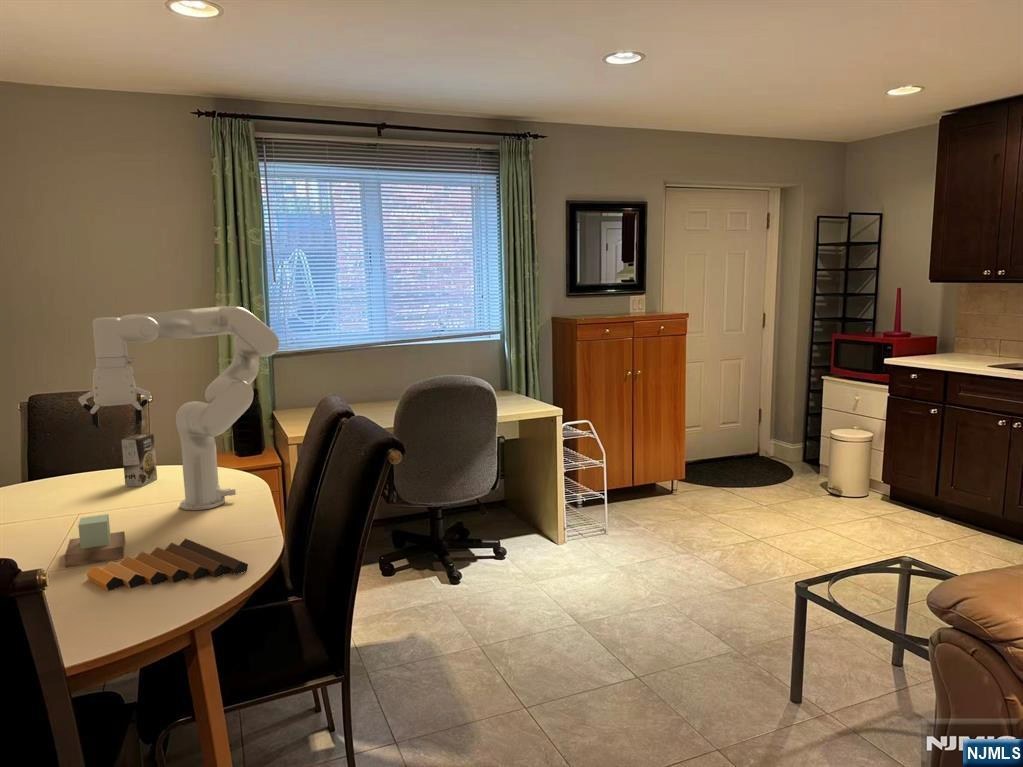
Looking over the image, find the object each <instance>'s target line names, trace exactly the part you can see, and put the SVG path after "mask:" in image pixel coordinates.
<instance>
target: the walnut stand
mask: <svg viewBox="0 0 1023 767" xmlns="http://www.w3.org/2000/svg"><path fill="white" fill-rule="evenodd" d="M110 535H111V538H110V543H109V545H103V546H97V547H90V548H84V549H81V546H80V537H78V538H71V539H69V541H68V544H67V547H66V551H65V553H64V560H65V562H64V563H65V568H71V567H78V566H84V565H88V564H96V563H101V562H102V563H103V562H107V561H108V562H110V561H115V560H121V559H124V558H125V549H126V535H125V531H117V532H110ZM120 558H121V559H120Z"/></svg>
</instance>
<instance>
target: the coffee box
mask: <svg viewBox="0 0 1023 767" xmlns="http://www.w3.org/2000/svg"><path fill="white" fill-rule="evenodd" d="M154 435H155V434H154V433H144V434H143V433H142V434H139V433H138V434H133V435H131V436H128V437H124V438H123V439H121V451H122V464H123V474H124V487H141V488H142V487H145V486H146V485H148V484H151V483H152V482H155V481H156V480H158V473H157V472H158V471H157V462H156V461H157V460H156V459H157V458H156V449H155V448H156V446H155V436H154Z"/></svg>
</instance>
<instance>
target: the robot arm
mask: <svg viewBox="0 0 1023 767" xmlns="http://www.w3.org/2000/svg"><path fill="white" fill-rule="evenodd" d="M92 333H93V334H92V335H93V342H94V344H93V345H94V355H95V364H96V368H94V369H93V372H92V373H93V374H92V377H93V378H92V390H91V391H89V392H87V393H84V394H83V395H81V396H79V397H78V398H77V401H78V402H79V404H80V405H81V406H82V408H83V409H85V411H87V412H89V413H90V414H91V418H92V419H91V420H92V422H91V423H92V425H93V426H94V425H95V429H99V428H100V426H101V425H100V416H99V414H100V413H99V412H98V410H99V409H100V407H109V406H110V407H111V406H121V405H123V406H124V405H132V406H133V407H134V408H135V410H134V412H135V424H136V425H137V426H138V425H140V422H142V421H143V416H142V414H143V413H142V410H143V408H144V407H145V406H146V405H147V404H148V402H149V401H150V399H151V397H152V393H151V392H150V391H148V390H145V389H142V388H139V387H137V386H136V379H135V375H134V370H133V367H132V366H129V365H130V364H132V363H133V364H134V363H135V359H134V358H135V357H129V355H128V344H127V343H136V344H137V343H138V344H147V343H151V342H153V341H154V340H155V339H179V340H180V339H196V338H204V337H212V336H220V335H221V336H222V335H235V336H234V339H233V348H234V355H233V356H234V357H233V360H232V362H230V364H229V365H228V367H226V368H225V370H223V371H222V372H221V373H220V374H219V375H218V376H216V378H215V379H214V380H212V382H210V384H209V385H208V386H207V388H206V389H205V392H204V397H205V400H206V402H203V401H198V400H197V401H195V400H193V401H188V402H186V403H183V404H182V405H181V406H180V407H179V408H178V409H177V412H176V415H175V423H176V428H177V431H178V435H179V440H180V449H181V461H182V475H183V476H182V477H183V485H184V486H183V487H184V499H183V500H182V501H180V502H179V508H181V509H182V510H185V511H204V510H209V509H213V508H218V507H220V506H222V505H223V504H225V502H226V497H228V496H236V495H237V494H236V493H237V492H236V488H232V489H231V488H230V487H229V488H228V487H227V488H224V489H223V488H221V486H220V485H219V483H220V482H219V473H218V472H219V471H218V470H219V469H218V460H217V458H218V457H217V446H216V439H215V437H218V436H220V435H222V434H224V433H225V432H226V431H227V430H229V429H230V427H232V426H233V425H234V423H236V422H237V421H238V419H239V418H241V416H242V415H244V413H246V411H247V410H248V409H249V408H250V406H251V404H252V403H253V400H254V395H255V394H254V389H253V387H252V385H251V384H252V383H253V382H254V381H255V379H256V378H257V376H258V374H259V370H260V366H259V365H260V362H259V361H260V358H259V357H261V358H262V357H263V358H268V357H271V356H273V355H275V354H276V353H277V352H278V350H279V347H280V340H279V337H278V335H277V334H276V333H275V332H274V331H273V330H272V329H271V328H270V327H269V326H268V325H267V324H265V323H264V322H263V321H262V320H260V319H259V318H258V317H257V316H256V315H255V314H253V313H252V312H250V311H249V310H248V309H245V308H244V307H241V306H224V305H223V306H214V307H213V306H211V307H200V308H198V307H197V308H189V309H188V308H187V309H178V310H168V311H161V312H148V313H135V314H125V315H122V316H120V317H117V316H116V317H115V316H110V317H105V316H104V317H96V318H94V319H93V320H92ZM138 394H139V395H142V396H144V397H143V399H142V401H141V402H139V401H138V400H137V399H138ZM92 397H93V403H94V405H93V406H92V405H90V404H89V403H88V402H87V399H89V398H92Z"/></svg>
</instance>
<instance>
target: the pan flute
mask: <svg viewBox="0 0 1023 767" xmlns="http://www.w3.org/2000/svg"><path fill="white" fill-rule="evenodd" d="M248 568H249V564H248V563H246V562H244V561H241V560H239V559H237V558H234V557H232V556H229V555H227V554H225V553H222V552H220V551H217V550H215V549H212V548H210V547H208V546H205V545H202V544H200V543H197V542H195V541H193V540H191V539H188V538H184V539H183V540H182V542H181V543H179V544H176V543H173V542H171V543H170V544H169V545H168V546H167V547H166V548H165V549H164V548H161V547H155V548H154V549H153V551H152V552H150V553H147V552H144V551H141V552H140V553H139V554H138V555H137V556H136V557H135V558H134V557H130V556H128V555H127V556H124V558H122V560H121V561H120V562H119V563H117V562H115V561H113V560H109V561H108V563H107V564H105V566H104V567H103V568H101V567H100V566H96V565H95V566H94V565H93V567H91V568H90V570H88V572H86V573H85V575H86V576H87V578H88V580H89V581H91V582H92V581H93V583H94V582H95V583H94V584H96V585H98V586H99V585H100V586H99V587H101V588H103V589H104V588H105V590H106V589H107V591H108V592H110V591H113V590H116V589H118V588H122V585H124V586H126V587H128V588H130V589H133V588H135V587H139V586H141V585H143V584H144V582H145V583H147V584H150V585H151V586H155V585H158V584H161V583H165V579H166V580H168V581H169V582H171V583H174V584H175V583H178V582H181V581H184V580H186V577H188V578H190V579H192V580H194V581H198V580H200V579H203V578H206V577H207V575H209V574H210V576H212V577H213V578H216V577H217V578H219V577H222V576H224V575H223V574H225V575H227V574H226V573H228V571H230V572H229V573H231V572H232V573H231V574H233V573H235V574H238V573H241V572H244V571H247V572H248ZM227 570H228V571H227ZM244 573H245V572H244ZM235 574H234V575H235ZM241 574H242V573H241ZM221 575H222V576H221ZM238 575H239V574H238ZM218 576H219V577H218ZM183 579H184V580H183ZM197 579H198V580H197ZM115 588H116V589H115ZM112 589H113V590H112ZM109 590H110V591H109Z"/></svg>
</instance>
